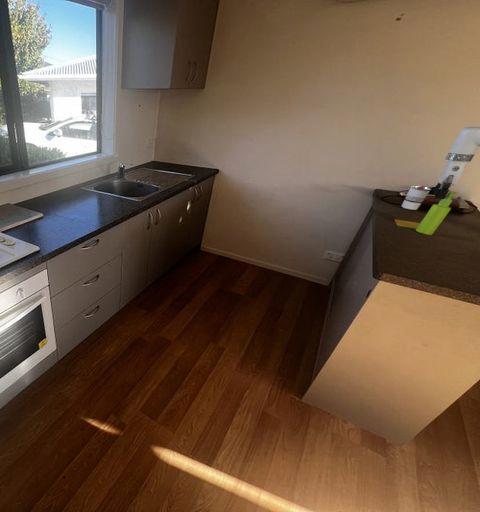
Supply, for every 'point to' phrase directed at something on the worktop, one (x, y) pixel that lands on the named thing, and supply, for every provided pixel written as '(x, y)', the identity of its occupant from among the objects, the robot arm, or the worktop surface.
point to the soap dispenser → (435, 215)
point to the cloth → (407, 224)
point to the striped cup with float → (415, 197)
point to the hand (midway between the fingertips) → (437, 196)
